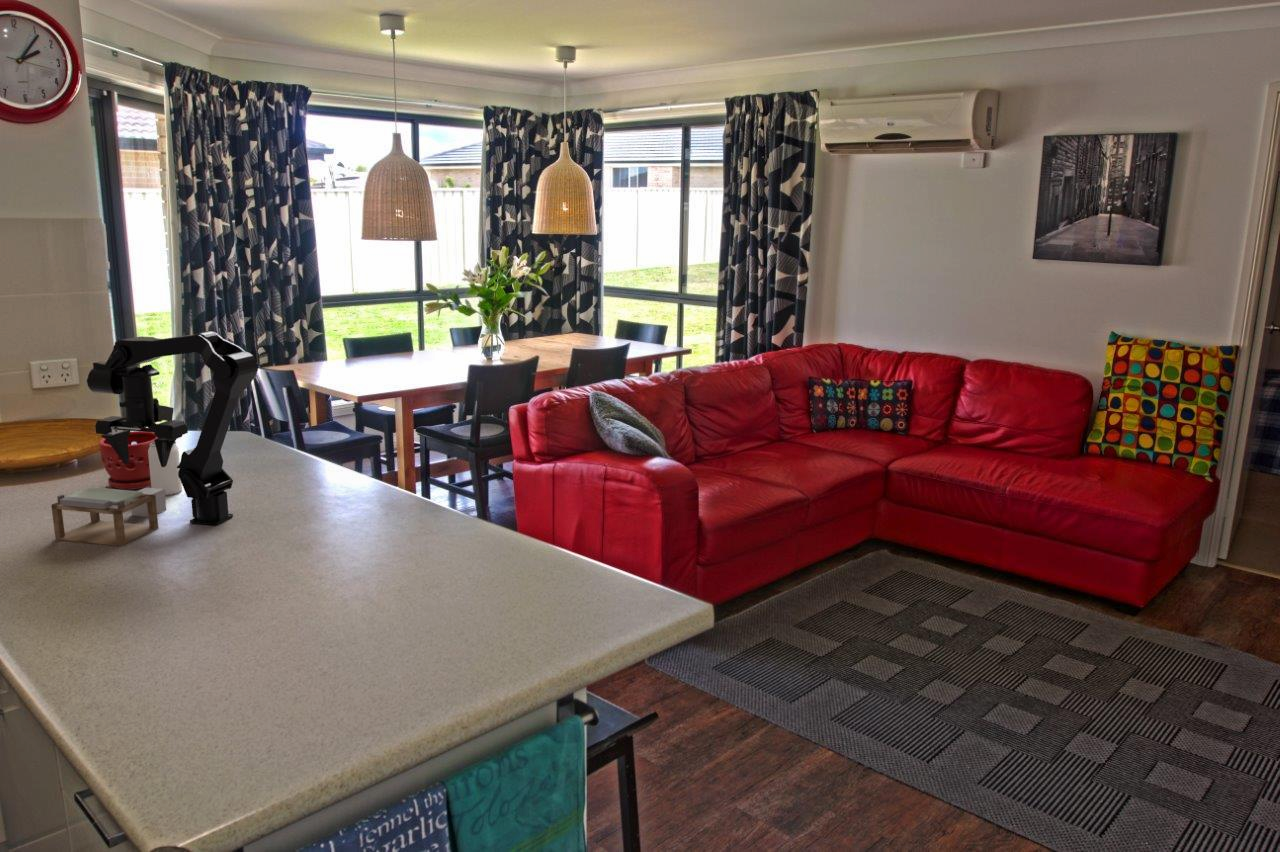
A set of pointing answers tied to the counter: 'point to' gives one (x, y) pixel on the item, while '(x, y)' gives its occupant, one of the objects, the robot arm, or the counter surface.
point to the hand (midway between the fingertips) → (145, 465)
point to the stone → (143, 509)
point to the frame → (106, 523)
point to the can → (165, 471)
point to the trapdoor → (98, 498)
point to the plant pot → (138, 466)
